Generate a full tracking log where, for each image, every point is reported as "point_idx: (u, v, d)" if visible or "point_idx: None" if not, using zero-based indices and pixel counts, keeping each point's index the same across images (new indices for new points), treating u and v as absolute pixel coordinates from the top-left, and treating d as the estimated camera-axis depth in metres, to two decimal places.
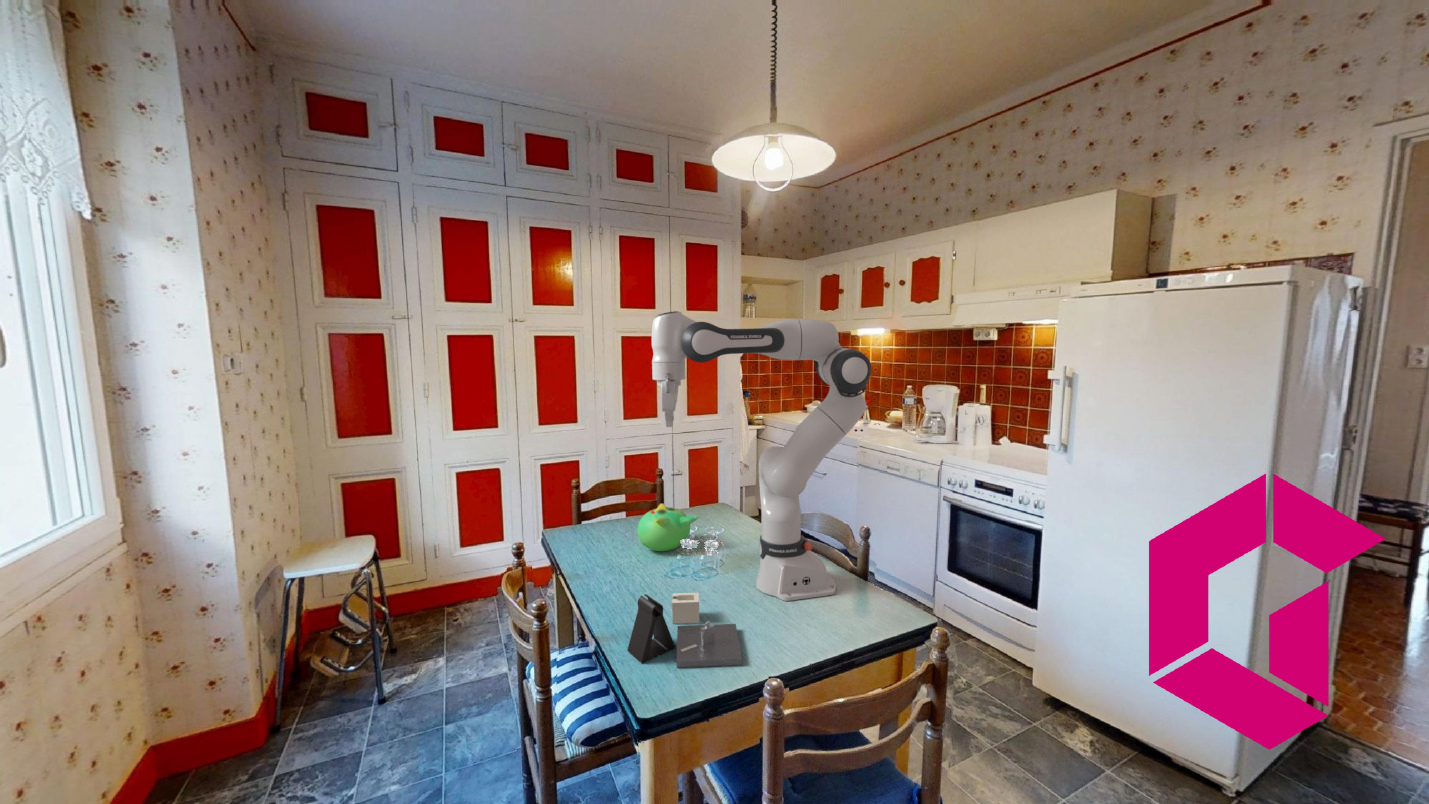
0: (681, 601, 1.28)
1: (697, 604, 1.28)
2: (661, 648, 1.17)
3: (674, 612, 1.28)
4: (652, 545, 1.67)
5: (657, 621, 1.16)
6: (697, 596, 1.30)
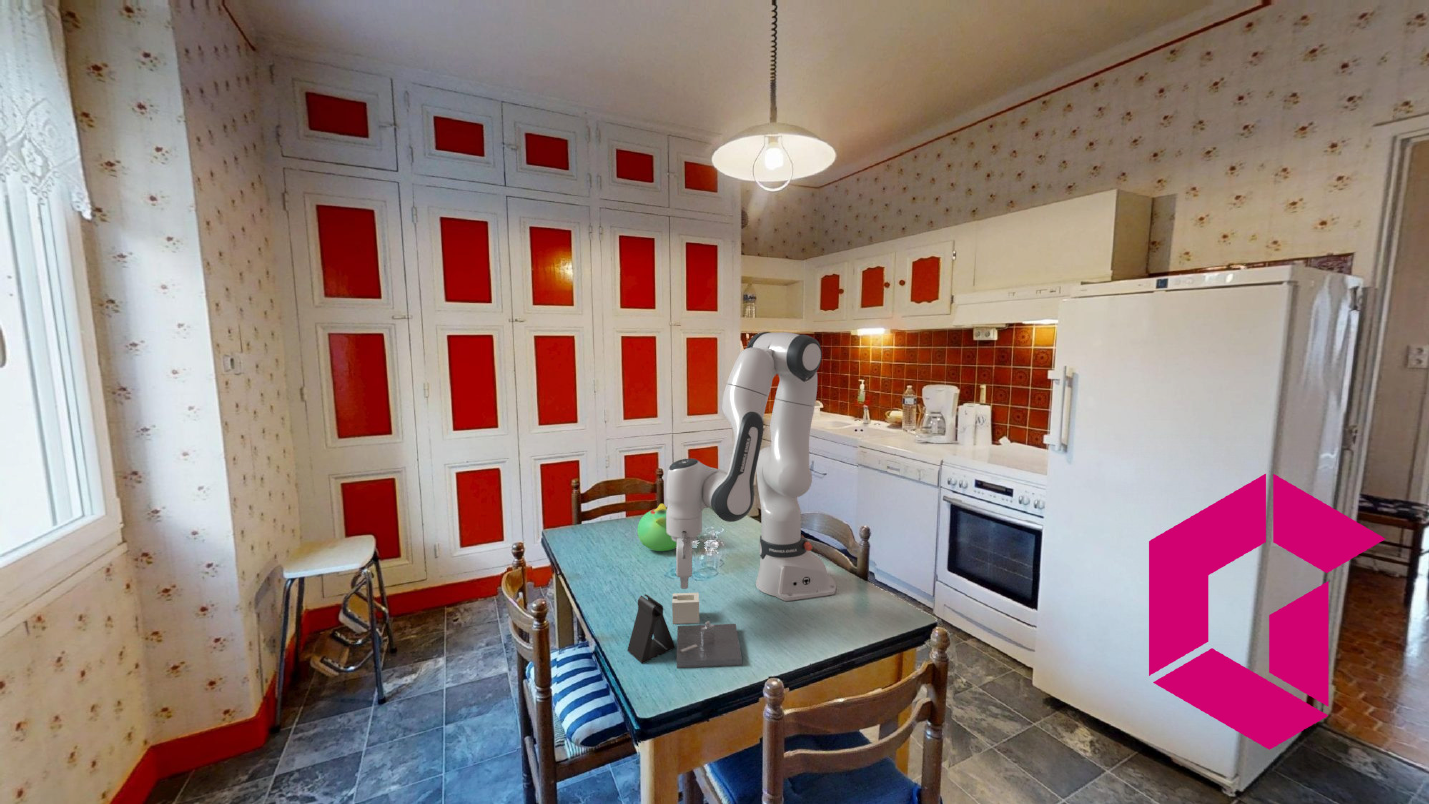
0: (681, 601, 1.28)
1: (697, 604, 1.28)
2: (661, 648, 1.17)
3: (674, 612, 1.28)
4: (652, 545, 1.67)
5: (657, 621, 1.16)
6: (697, 596, 1.30)
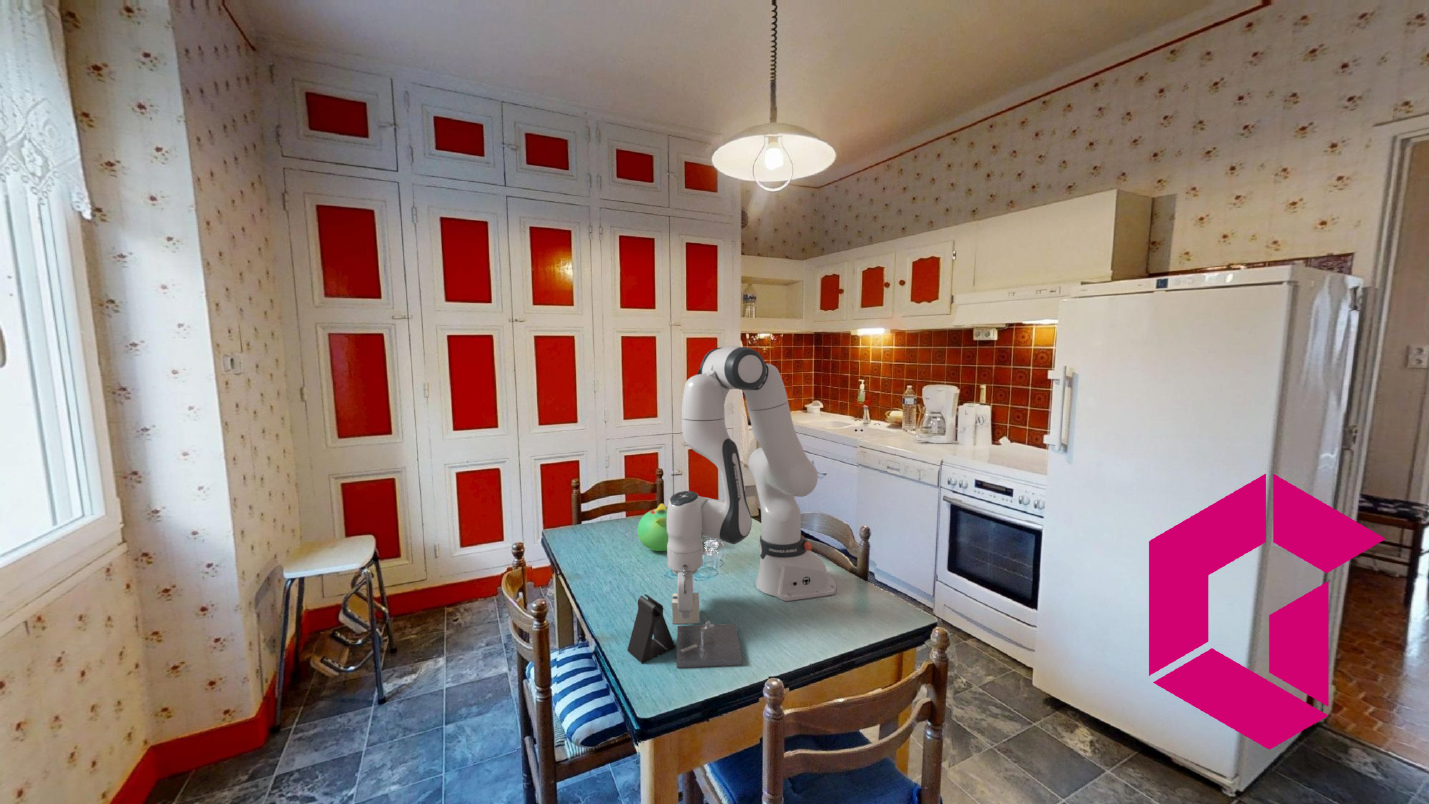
0: None
1: (697, 604, 1.28)
2: (661, 648, 1.17)
3: (674, 612, 1.28)
4: (652, 545, 1.67)
5: (657, 621, 1.16)
6: (697, 596, 1.30)
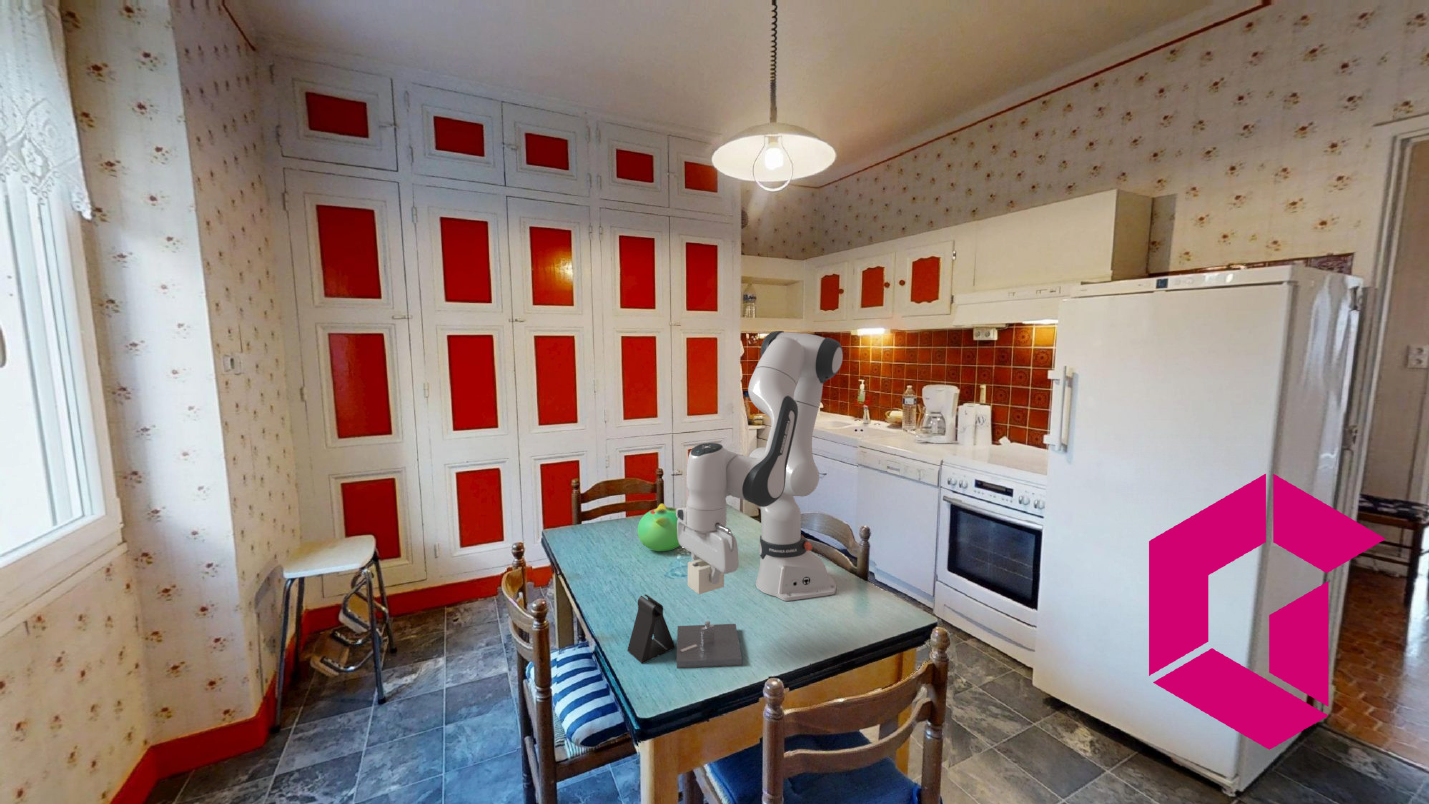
0: (706, 566, 1.13)
1: None
2: (661, 648, 1.17)
3: (700, 580, 1.12)
4: (652, 545, 1.67)
5: (657, 621, 1.16)
6: None
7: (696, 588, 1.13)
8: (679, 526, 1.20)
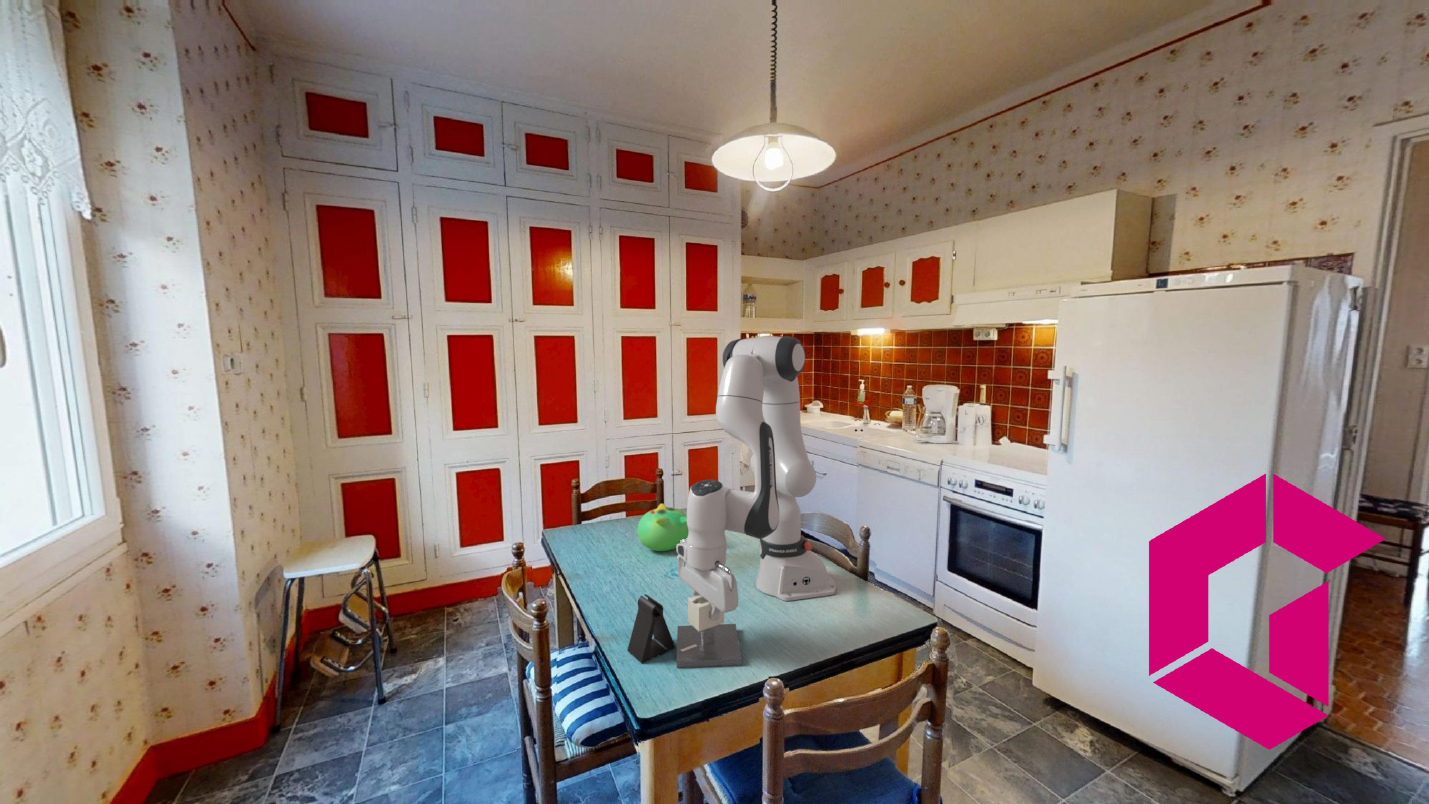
0: (706, 603, 1.14)
1: None
2: (661, 648, 1.17)
3: (700, 617, 1.13)
4: (652, 545, 1.67)
5: (657, 621, 1.16)
6: None
7: (696, 625, 1.14)
8: (679, 561, 1.21)
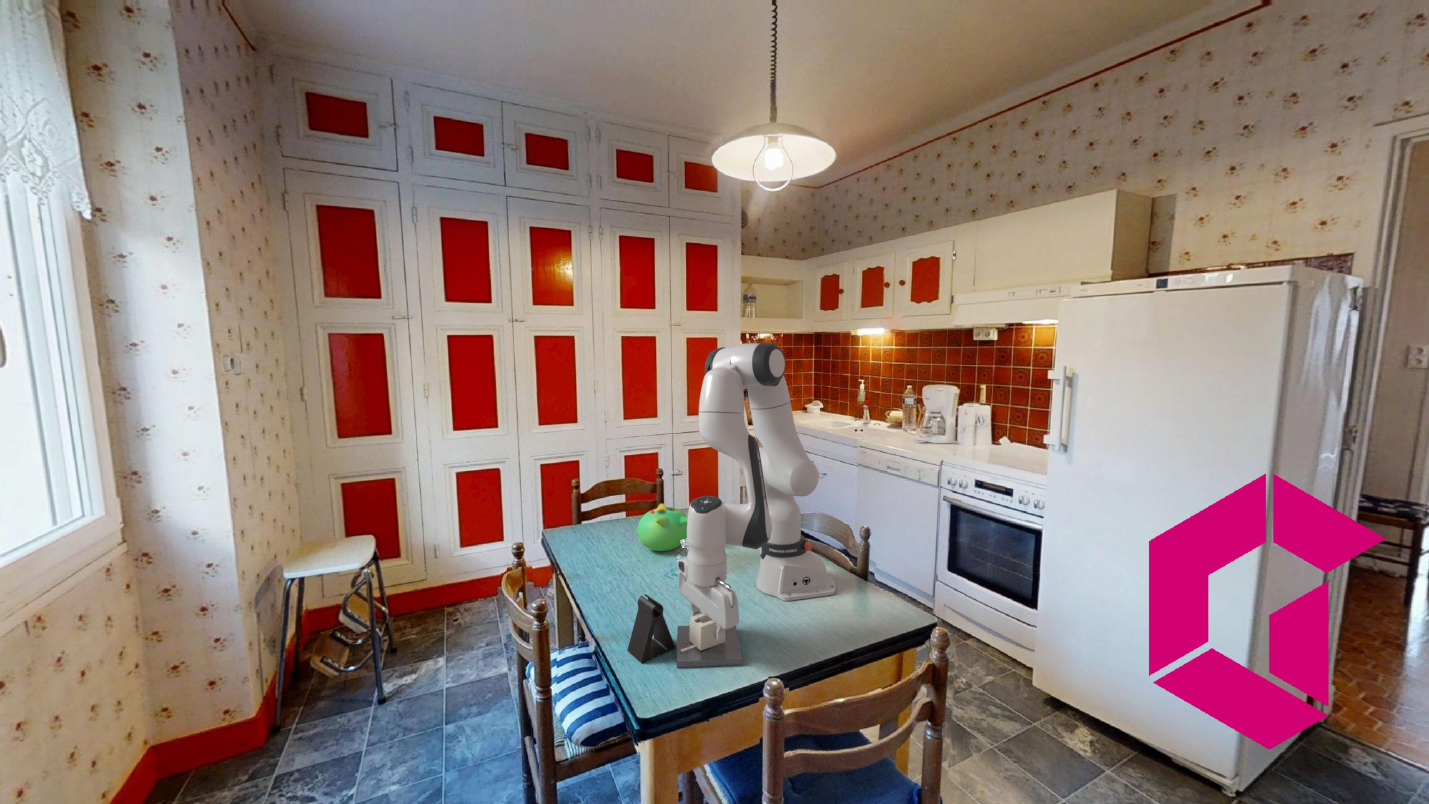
0: (708, 623, 1.15)
1: None
2: (661, 648, 1.17)
3: (702, 637, 1.14)
4: (652, 545, 1.67)
5: (657, 621, 1.16)
6: None
7: (698, 644, 1.15)
8: (680, 576, 1.22)
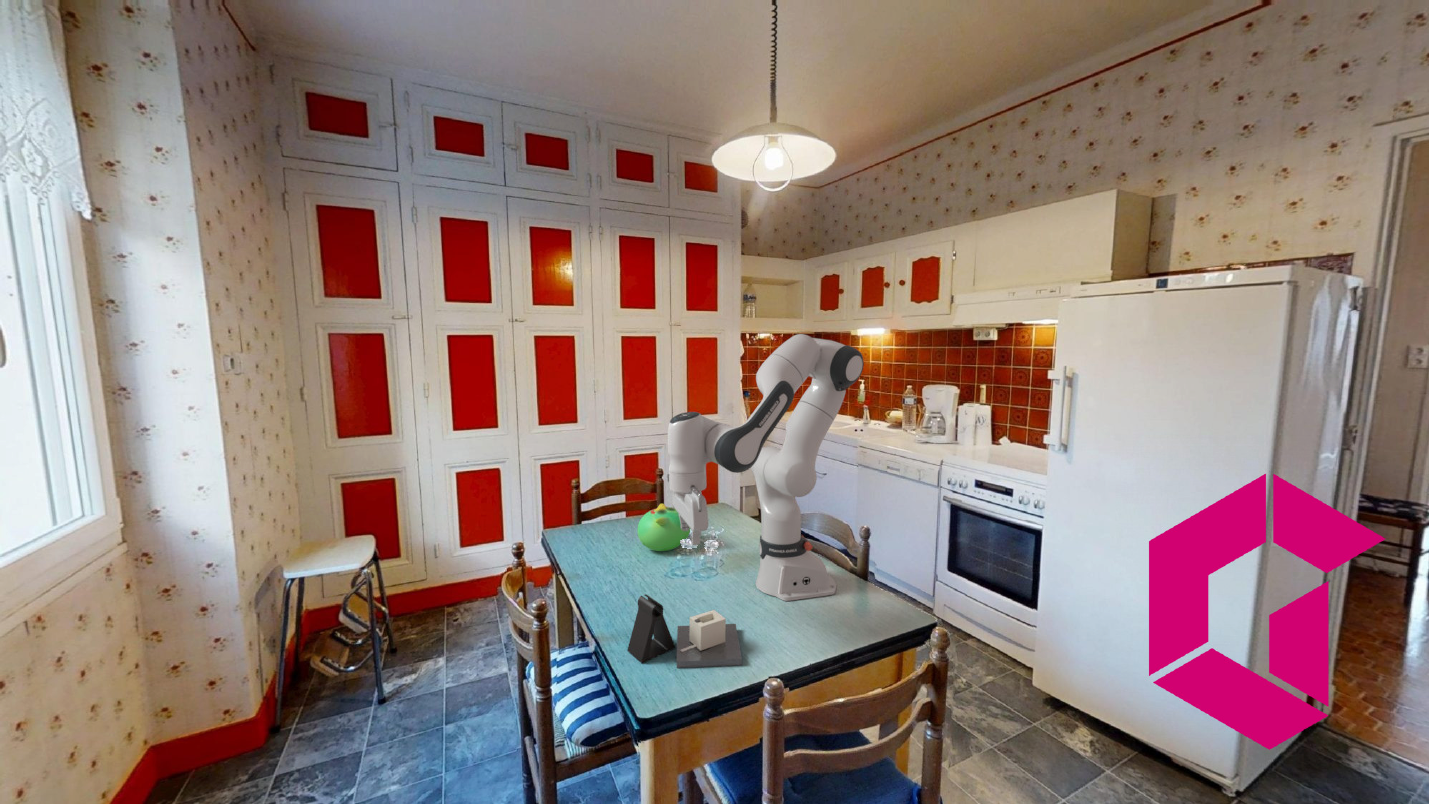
0: (708, 623, 1.15)
1: (723, 622, 1.17)
2: (661, 648, 1.17)
3: (702, 637, 1.14)
4: (652, 545, 1.67)
5: (657, 621, 1.16)
6: (717, 613, 1.19)
7: (698, 644, 1.15)
8: (671, 489, 1.31)
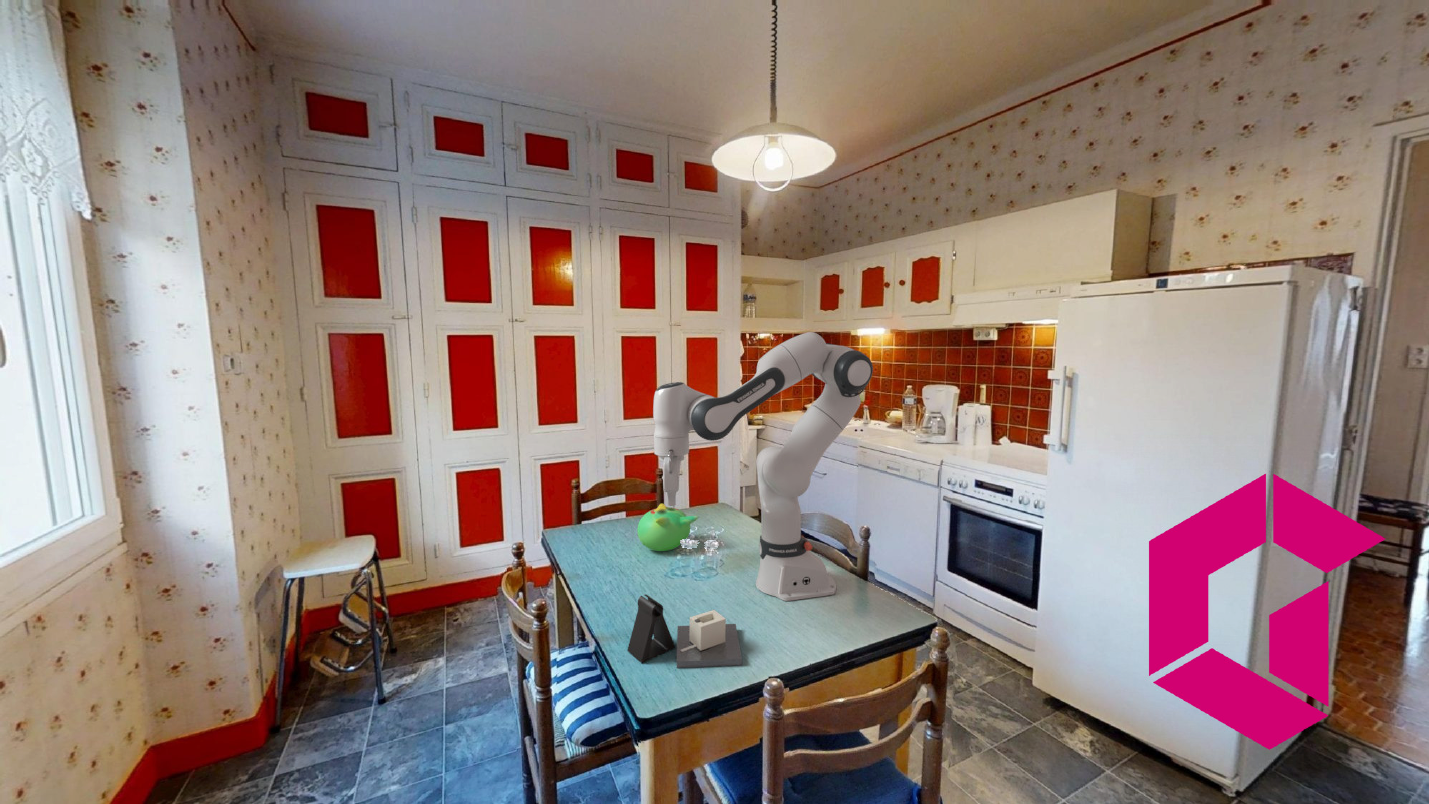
0: (708, 623, 1.15)
1: (723, 622, 1.17)
2: (661, 648, 1.17)
3: (702, 637, 1.14)
4: (652, 545, 1.67)
5: (657, 621, 1.16)
6: (717, 613, 1.19)
7: (698, 644, 1.15)
8: None
